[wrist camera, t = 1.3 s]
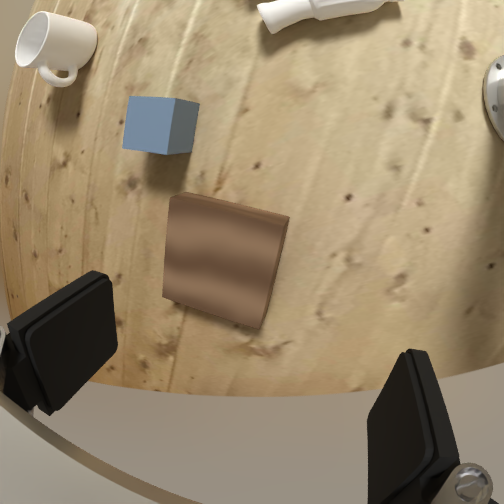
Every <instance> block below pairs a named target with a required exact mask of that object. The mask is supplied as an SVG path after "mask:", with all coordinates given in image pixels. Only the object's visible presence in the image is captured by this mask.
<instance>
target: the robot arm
mask: <svg viewBox="0 0 504 504" xmlns="http://www.w3.org/2000/svg"><path fill="white" fill-rule="evenodd" d="M496 67H497V68H496ZM483 91H484V101H485V106H486V109H487V113H488V116H489V118H490V120H491V123H492V125H493V127H494V129H495V130H496V132H497V133H498V135H499V136H500V138H501V139H502V140H503V141H504V55H502V56H500V57H498V58H496V59H495V60H494V61H493V62H492V63H491V64H490V65H489V67H488V69H487V70H486V74H485V77H484V85H483ZM492 108H493V110H492ZM7 325H8V328H9V332H10V333H9V334H8V335H6V332H5V330H4V328H3V327H2V326H0V504H202V503H199V502H196V501H192V500H190V499H187V498H184V497H181V496H179V495H176V494H173V493H171V492H168V491H166V490H163V489H161V488H158V487H156V486H153V485H151V484H149V483H147V482H144V481H142V480H140V479H138V478H135V477H133V476H131V475H129V474H127V473H125V472H123V471H121V470H119V469H117V468H115V467H113V466H111V465H109V464H107V463H105V462H103V461H102V460H100V459H98V458H96V457H94V456H93V455H91V454H89V453H87V452H86V451H84V450H82V449H81V448H79V447H77V446H76V445H74V444H72V443H71V442H69V441H68V440H66V439H65V438H63V437H61V436H60V435H58V434H57V433H55V432H54V431H52V430H51V429H49V428H48V427H47V426H45V425H44V424H42V423H41V422H40V421H38V420H37V419H35V418H34V417H33V411H34V408H33V407H34V406H36V405H37V406H38V408H39V409H40V410H41V411H43V412H44V413H46V414H47V415H49V416H50V415H51V414H52V413H53V412H54V411H58V410H60V409H61V408H62V407H63V406H64V405H65V404H66V403H67V402H68V401H69V400H70V399H71V398H72V396H73V395H74V394H76V392H77V391H78V390H79V389H80V388H81V387H82V386H83V385H84V384H85V383H86V382H87V381H88V380H89V379H90V378H91V377H92V376H93V375H94V374H95V373H96V372H97V371H98V370H99V369H100V368H101V367H102V366H103V365H104V364H105V363H106V362H107V361H108V360H109V359H110V358H111V357H112V356H113V355H114V353H115V352H116V350H117V347H118V342H117V333H116V324H115V313H114V302H113V288H112V282H111V281H110V280H109V277H108V276H107V275H106V274H103V273H100V272H97V271H93V270H92V271H90V272H88V273H86V274H85V275H83V276H81V277H80V278H78V279H76V280H75V281H73V282H71V283H70V284H68V285H66V286H65V287H63V288H62V289H60V290H58V291H57V292H55V293H54V294H52V295H50V296H49V297H47V298H46V299H44V300H42V301H41V302H39V303H38V304H36V305H35V306H33V307H32V308H30V309H28V310H27V311H25V312H24V313H22V314H21V315H19V316H18V317H16V318H15V319H13V320H12V321H10V322H9V323H7ZM367 433H368V434H367V435H368V504H498V503H497V502H496V501H494V500H493V499H491V495H492V491H493V483H492V480H491V477H490V475H489V474H488V472H487V471H486V470H485V469H484V468H483V467H481V466H479V465H477V464H475V463H463V464H460V460H459V453H458V449H457V445H456V441H455V437H454V434H453V430H452V426H451V423H450V420H449V416H448V413H447V409H446V406H445V403H444V400H443V397H442V393H441V391H440V387H439V384H438V381H437V378H436V376H435V373H434V370H433V367H432V364H431V362H430V359H429V356H428V354H427V352H426V351H422V350H416V349H408V350H407V351H406V352H405V353H404V352H402V353H401V354H400V355H399V357H398V359H397V361H396V363H395V365H394V367H393V369H392V371H391V373H390V375H389V377H388V379H387V381H386V383H385V385H384V387H383V389H382V391H381V393H380V394H379V396H378V398H377V400H376V402H375V403H374V405H373V407H372V409H371V410H370V412H369V415H368V419H367Z"/></svg>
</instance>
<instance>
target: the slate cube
mask: <svg viewBox="0 0 504 504" xmlns="http://www.w3.org/2000/svg"><path fill="white" fill-rule="evenodd" d="M199 105H200V104H199V103H195V102H190V101H186V100H181V99H177V98H163V97H141V96H129V102H128V108H127V115H126V122H125V130H124V138H123V147H122V148H123V149H131V150H138V151H145V152H152V153H158V154H164V155H170V154H179V153H188V152H192V147H193V141H194V134H195V128H196V122H197V116H198V111H199Z"/></svg>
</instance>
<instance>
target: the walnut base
mask: <svg viewBox="0 0 504 504" xmlns="http://www.w3.org/2000/svg"><path fill="white" fill-rule="evenodd" d="M289 218H290V217H288V216H284V215H280V214H276V213H272V212H268V211H264V210H260V209H256V208H252V207H248V206H244V205H240V204H236V203H231V202H227V201H223V200H219V199H214V198H210V197H206V196H201V195H197V194H193V193H188V192H185V193H182V194H179V195H176V196H174V197H171V198H170V202H169V212H168V222H167V234H166V246H165V259H164V275H163V294H162V297H164V298H166V299H169V300H172V301H175V302H178V303H180V304H183V305H186V306H189V307H192V308H195V309H198V310H201V311H204V312H206V313H209V314H212V315H215V316H218V317H222V318H225V319H228V320H231V321H234V322H237V323H240V324H243V325H247V326H250V327H253V328H256V329H260V327H261V324H262V322H263V320H264V318H265V316H266V313H267V310H268V306H269V302H270V298H271V294H272V290H273V286H274V281H275V277H276V273H277V269H278V265H279V261H280V256H281V252H282V248H283V244H284V239H285V235H286V231H287V226H288V222H289Z"/></svg>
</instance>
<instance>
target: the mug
mask: <svg viewBox="0 0 504 504" xmlns="http://www.w3.org/2000/svg"><path fill="white" fill-rule="evenodd" d="M96 45H97V32H96V29H95V28H94V26H92V25H91V24H89V23H86V22H83V21H80V20H76V19H73V18H69V17H65V16H62V15H58V14H54V13H49V12H45V11H41V12H38V13H36V14H34V15H33V16H32V17H31V18H30V19H29V20H28V21H27V23H26V24H25V26H24V27H23V29H22V31H21V33H20V35H19V38H18V41H17V44H16V50H15V58H16V62H17V64H18V65H19V66H20V67H26V68H38V71H39V73H40V75H41V77H42V78H43V79H44V80H45V81H46V82H47V83H48V84H50V85H52V86H55V87H67V86H69V85H71V84H72V83H73V82H74V81H75V80H76V78H77V73H78V69H80V68H81V67H83V66H84V65H85V64H86V63H87V62H88V61H89V60H90V58H91V57H92V55H93V53H94V51H95V48H96ZM50 69H52V70H62V71H69V76H68V77H67V78H59V77H57V76H55V75H54V74H53V73H52V72H51V71H50Z"/></svg>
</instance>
